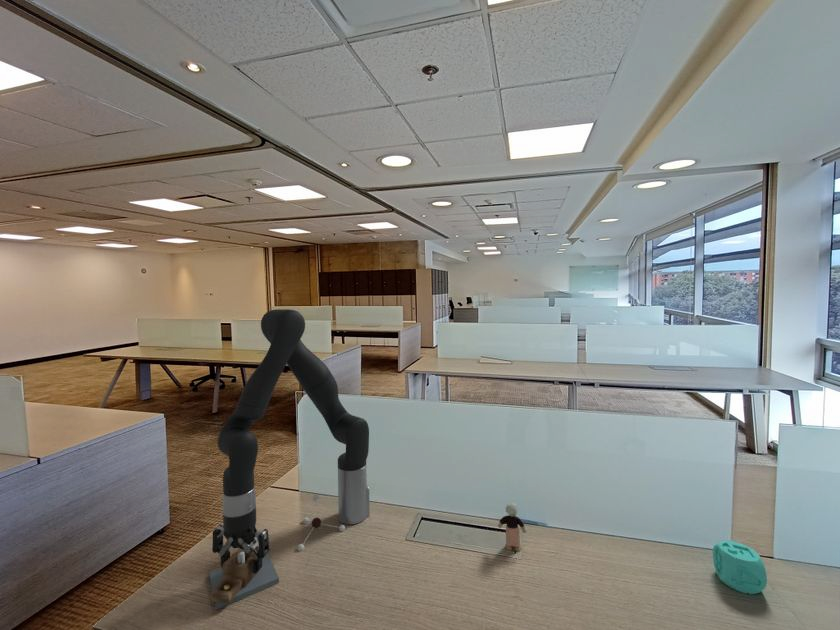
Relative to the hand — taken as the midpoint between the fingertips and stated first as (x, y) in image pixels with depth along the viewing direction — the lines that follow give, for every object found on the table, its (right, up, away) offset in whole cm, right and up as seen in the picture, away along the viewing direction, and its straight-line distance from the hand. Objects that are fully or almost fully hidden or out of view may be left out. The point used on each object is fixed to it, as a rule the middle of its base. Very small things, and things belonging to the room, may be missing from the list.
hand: (241, 569), depth 94 cm
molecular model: (+15, -3, +20) cm, 25 cm away
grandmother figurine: (+71, -2, +12) cm, 73 cm away
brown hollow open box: (0, -2, -2) cm, 3 cm away
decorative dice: (+124, -2, -2) cm, 124 cm away
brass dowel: (-1, -2, -5) cm, 6 cm away
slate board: (0, -3, +1) cm, 3 cm away
